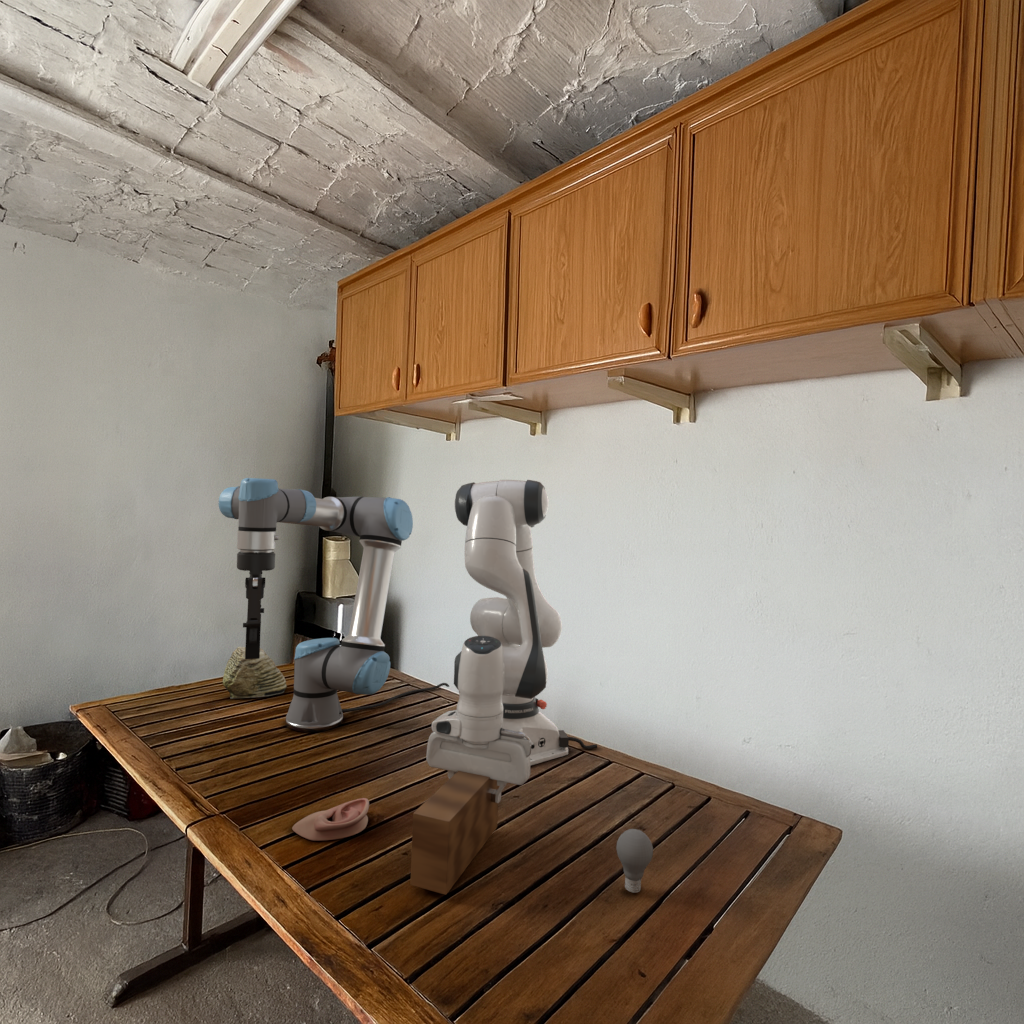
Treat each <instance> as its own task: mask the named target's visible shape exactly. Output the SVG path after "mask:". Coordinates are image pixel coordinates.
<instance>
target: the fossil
mask: <svg viewBox="0 0 1024 1024" xmlns="http://www.w3.org/2000/svg"><path fill="white" fill-rule="evenodd" d="M245 647H246V646H238V647H237V648H236V649H235V650H233V651H232V653H231V656H230V657H229V659H228V660H227V663H226V666H225V668H224V671H223V675H222V676H223V677H222V685H223V687H224V688H225V690H226V691H228V693H229V698H230V699H250V698H264V697H271V696H275V695H281V694H284V693H285V691H286V689H287V687H288V686H287V680H286V678H285V676H284V674H283V673H282V672H281V669H279V668H278V667H277V665H276V663H275V662H274V660H273V659H272V658H271V657H270V656H269V655H268V654H267V653H266V652H265V650H264V649H263V648H261V647H260V658H259V659H245Z"/></svg>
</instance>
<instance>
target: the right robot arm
mask: <svg viewBox="0 0 1024 1024" xmlns="http://www.w3.org/2000/svg"><path fill="white" fill-rule="evenodd" d="M549 502H550V501H549V496H548V492H547V490H546V487H545V486H544V485H543V483H542V482H541V481H538V480H533V479H527V480H521V479H520V480H519V479H499V480H491V481H481V482H468V483H465V484H462V485H461V486H460V487H459V488H458V489H457V491H456V493H455V498H454V512H455V515H456V518H457V520H458V522H460V524H461V525H463V526H465V527H466V531H465V540H464V567H465V569H466V572H467V574H468V575H469V576H470V577H471V579H472V580H474V581H475V582H476V583H478V584H479V585H481V586H483V587H484V588H486V589H489V590H491V591H493V592H496V593H498V594H500V595H503V596H504V597H498V596H495V597H494V596H493V597H483V598H480V599H478V600H477V601H476V602H475V603H474V604H473V607H472V608H471V611H470V614H469V623H470V626H471V628H472V631H473V632H474V633H475V634H476V635H475V636H471V637H469V638H467V639H465V640H464V641H463V644H462V648H461V651H460V652H459V653H457V655H456V656H455V657H454V666H453V667H454V669H453V685H454V686H455V688H456V689H457V691H458V700H457V703H456V709H454V710H448V711H445V712H444V713H442V714H441V715H439V716H437V717H436V718H435V719H434V720H433V721H432V722H431V731H432V732H431V733H430V734H429V736H428V740H427V746H426V755H425V756H426V757H425V759H426V763H427V765H428V766H429V767H430V768H435V769H439V770H444V771H447V777H448V780H449V779H450V778H451V777H452V776H453V775H454V774H455V773H456V772H458V771H462V772H467V773H472V774H477V775H482V776H487V777H490V779H492V780H497V786H499V788H498V790H495V789H494V790H493V792H492V793H491V802H494V803H498V804H499V803H500V802H501V800H502V791H503V790H504V789H505V788H506V786H507V785H508V784H510V785H517V786H522V785H524V784H525V783H526V782H527V781H528V780H529V778H530V776H531V771H532V770H531V766H534V765H537V764H541V763H545V762H547V761H551V760H554V759H557V758H562V757H564V756H568V755H569V745H570V742H576V743H578V744H579V746H580V747H581V748H582V749H584V750H593V749H598V744H591V745H586V744H584V742H583V740H581V739H579V738H577V737H574V736H568V735H567V733H566V732H565V730H564V729H559V728H558V726H557V725H556V724H555V723H554V722H553V721H552V720H551V719H550V718H548V717H547V716H546V715H545V714H543V713H542V712H541V711H540V710H539V708H540V709H541V710H545V709H546V708H547V707H548V703H547V701H545V700H543V699H539V698H537V696H538V695H540V694H541V693H542V692H543V691H544V690H545V689H546V688H547V683H548V678H549V670H548V664H547V663H548V662H547V660H546V656H545V652H544V649H543V648H552V647H553V646H554V645H555V644H556V643H557V642H558V641H559V639H560V638H561V635H562V632H563V621H562V617H561V614H560V613H559V611H558V610H557V609H556V608H554V607H553V606H552V605H551V603H550V602H549V601H548V600H547V598H546V597H545V596H544V594H543V592H542V590H541V588H540V586H539V583H538V580H537V575H536V570H535V569H536V567H535V560H534V559H535V558H534V542H533V541H534V540H533V533H532V528H535V526H536V525H538V524H541V523H542V522H543V521H544V520H545V519H546V516H547V513H548V510H549V504H550V503H549Z"/></svg>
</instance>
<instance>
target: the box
mask: <svg viewBox="0 0 1024 1024" xmlns="http://www.w3.org/2000/svg"><path fill="white" fill-rule="evenodd" d="M499 787H500V786H497V780H492V779H490V777H487V776H482V775H477V774H472V773H467V772H462V771H458V772H456V773H455V774H454V775H453V776H452V777H451V778H450V779H449V778H448V780H447V781H446V782H445V783H443V784H442V785H441V786H440V787H439V788H438V789H437V790H436V791H435V792H433V794H432V795H431V796H430V797H428V799H426V800H425V801H424V802H423V803H422V804H420V806H419V807H418V808H417V809H416V810H415V811H414V812H412V831H411V833H412V835H411V859H410V860H411V861H410V881H409V882H410V885H409V886H413V887H416V888H420V889H423V890H427V891H431V892H434V893H438V894H442V895H446V896H447V894H448V893H449V892H450V890H452V888H453V886H454V885H455V884H456V882H457V881H458V880H459V878H460V877H461V876H462V875H463V873H464V872H465V871H466V869H467V868H468V866H469V865H470V864H471V863H472V861H473V860H474V859H475V857H476V856H477V855H478V853H479V852H480V851H481V849H482V848H483V847H484V845H485V844H486V843H487V842H488V840H489V839H490V837H491V836H492V835H493V833H495V831H496V829H497V828H498V819H499V803H494V802H491V793H492V792H493V790H494V789H495V790H498V788H499Z"/></svg>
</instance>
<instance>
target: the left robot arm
mask: <svg viewBox="0 0 1024 1024" xmlns="http://www.w3.org/2000/svg"><path fill="white" fill-rule="evenodd" d="M218 509H219V512H220V513H221V514H222V516H224V517H225V518H228V519H234V520H238V528H237V529H238V530H237V540H236V541H237V542H236V543H237V544H236V548H237V549H238V550H239V551H238V552H237V553H236V569H238V570H239V571H243V572H246V571H247V572H248V571H249V577H245V581H244V588H245V599H247V611H246V612H247V615H246V622H243V623H242V628H245V646H244V647H245V659H259V658H260V648H261V631H262V629H261V628H262V614H265V608H264V607H262V599H264V596H265V595H264V592H265V589H266V577H263V572H267V571H268V572H269V571H272V570H274V569H275V568H276V553H275V552H274V551H275V549H276V541H278V540H280V536H279V535H276V534H277V523H281V524H282V523H283V524H290V525H291V524H292V525H304V526H313V527H319V528H320V529H322V530H324V531H325V532H326V531H327V532H334V533H339V534H342V535H347V536H351V537H358V538H359V543H360V545H361V546H362V557H361V562H360V568H359V575H358V579H357V584H356V585H357V587H356V591H355V595H354V601H353V602H354V603H353V608H352V614H351V618H350V625H349V630H348V633H347V635H346V636H344V638H342V639H341V642H340V640H339V638H337V637H321V638H313V639H307V640H304V641H302V642H299V643H298V644H297V645H296V647H295V652H294V653H295V654H294V657H293V659H294V661H293V662H294V670H293V695H292V696H293V697H292V699H291V702H290V704H289V706H288V707H289V708H288V711H287V713H286V715H285V726H286V728H287V729H289V730H291V731H294V732H295V731H296V732H301V733H316V732H325V731H329V730H332V729H335V728H337V727H339V726H340V725H342V723H343V722H344V714H343V713H347V712H357V711H363V710H369V709H373V708H374V709H375V708H378V707H381V706H385V705H387V704H390V702H393V701H394V700H396V699H398V698H401V697H404V696H407V695H410V694H414V693H420V692H426V691H433V690H437V689H439V688H441V687H443V686H445V687H446V688H449V687H450V685H449V684H448V683H447V682H442V683H439V684H437V685H435V686H432V687H431V686H430V687H424V688H417V689H413V690H408V691H405V692H401V693H398V694H397V695H394V696H392V697H390V698H388V699H387V700H385V701H382V702H379V703H375V704H371V705H365V706H359V707H351V708H350V707H349V708H342V706H341V702H340V699H339V695H338V691H340V692H347V693H352V694H355V695H366V696H370V695H374V694H376V693H377V692H379V691H380V690H381V689H382V687H383V686H384V685H385V683H386V681H387V679H388V677H389V674H390V671H391V661H390V660H391V658H390V656H389V654H388V653H386V652H385V647H386V643H384V642H383V640H382V639H381V637H382V631H383V626H384V625H383V624H384V619H385V612H386V606H387V601H388V593H389V590H390V589H389V588H390V582H391V577H392V571H393V570H392V569H393V564H394V557H395V553H396V552H397V551H398V550H400V549H401V547H402V542H403V541H405V540H408V539H409V538H410V536H411V534H412V533H413V528H414V526H413V525H414V519H413V514H412V511H411V508H410V506H409V504H408V503H407V502H406V501H405V500H403V499H400V498H397V497H390V496H387V497H383V496H381V497H379V496H343V497H342V496H338V497H337V496H326V497H323V498H319V497H315V496H314V495H313V493H312V492H310V491H308V490H305V489H301V488H279V483H278V481H277V479H274V478H260V477H259V478H256V477H244V478H242V479H241V481H240V483H239V486H228V487H226V488H224V489H223V490H222V491H221V493H220V495H219V498H218Z"/></svg>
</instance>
